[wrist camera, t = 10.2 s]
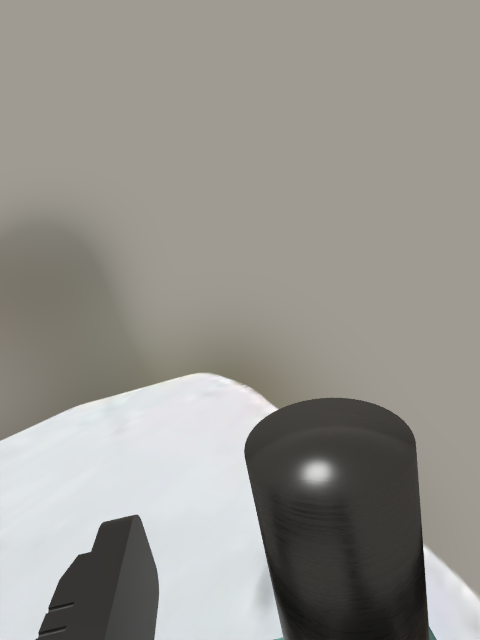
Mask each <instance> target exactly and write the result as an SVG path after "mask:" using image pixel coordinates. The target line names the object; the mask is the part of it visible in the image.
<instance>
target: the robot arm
mask: <svg viewBox="0 0 480 640" xmlns="http://www.w3.org/2000/svg"><path fill="white" fill-rule="evenodd" d="M158 601H159V582H158V574H157V568H156V565H155V562H154V558H153V555H152V552H151V549H150V546H149V543H148V540H147V536H146V533H145V530H144V527H143V524H142V521H141V519H140V517H139V516H138V515H132V516H128V517H124V518H119V519H115V520H111V521H106V522H103V523H102V524H101V526H100V528H99V530H98V533H97V536H96V539H95V542H94V545H93V548H92V551H91V552H89V553H85V554H80V555H78V556H77V558H76V559H75V560H74V562H73V563H72V564H71V565H70V567H69V568H68V569H67V571H66V572H65V573H64V575H63V576H62V577H61V579H60V580H59V583H58V585H57V588H56V590H55V593H54V595H53V598H52V600H51V603H50V605H49V608H48V609H49V612H48V613H47V614H46V615H45V618H44V620H43V623H42V625H41V628H40V630H39V637H38V639H36V640H154V635H155V627H156V618H157V610H158Z"/></svg>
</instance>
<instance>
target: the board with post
mask: <svg viewBox="0 0 480 640" xmlns="http://www.w3.org/2000/svg"><path fill="white" fill-rule="evenodd" d="M244 452H245V460H246V465H247V470H248V474H249V479H250V483H251V488H252V493H253V497H254V502H255V507H256V511H257V516H258V521H259V525H260V530H261V535H262V539H263V544H264V549H265V553H266V558H267V563H268V567H269V572H270V577H271V581H272V586H273V590H274V595H275V600H276V604H277V609H278V614H279V618H280V623H281V628H282V632H283V637H284V640H430V638H429V624H428V609H427V595H426V581H425V567H424V553H423V539H422V526H421V511H420V496H419V482H418V468H417V453H416V442H415V438H414V435H413V433H412V431H411V430H410V428H409V426H408V425H407V424H406V423H405V422H404V421H403V420H402V419H401V418H400V417H399V416H397V415H396V414H394V413H392V412H391V411H389V410H387V409H385V408H383V407H380V406H378V405H376V404H372V403H369V402H364V401H361V400H355V399H347V398H321V399H312V400H307V401H302V402H298V403H295V404H292V405H289V406H286V407H284V408H281V409H279V410H277V411H275V412H273V413H271V414H270V415H268V416H267V417H265V418H264V419H263V420H261V421H260V422H259V423H258V424H257V425H256V426H255V427H254V429H253V430H252V431H251V432H250V434H249V436H248V438H247V441H246V444H245V450H244Z"/></svg>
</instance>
